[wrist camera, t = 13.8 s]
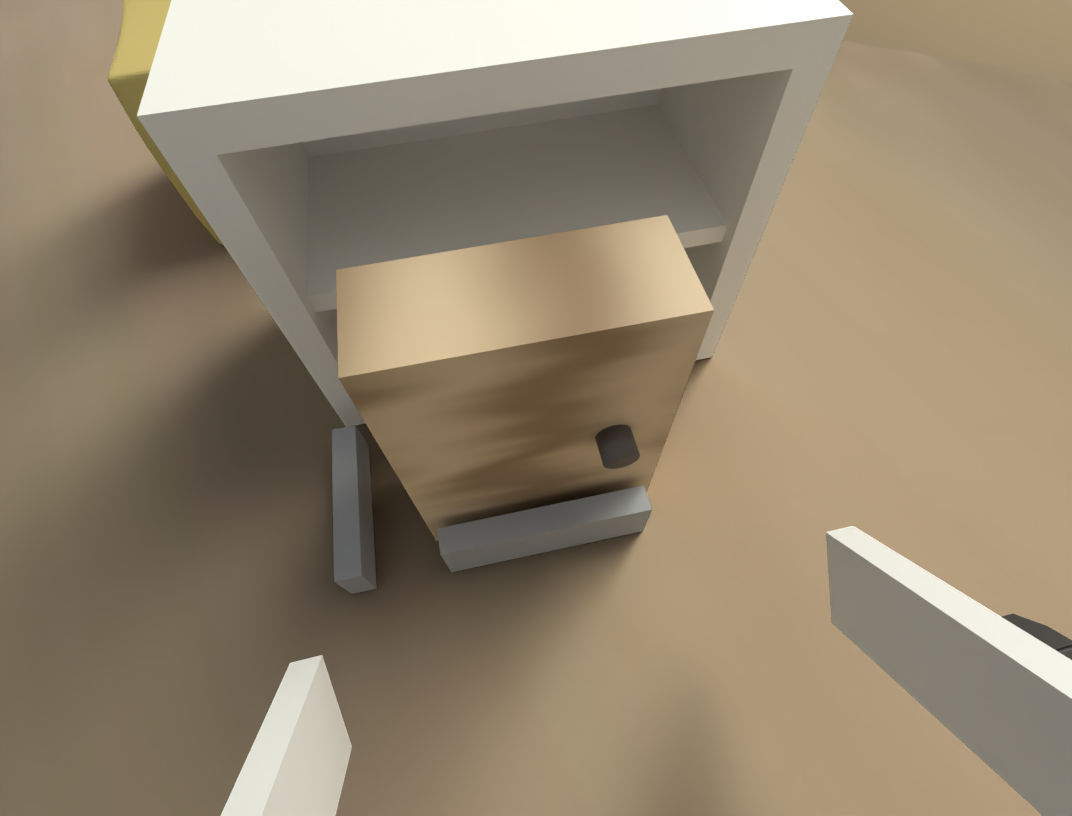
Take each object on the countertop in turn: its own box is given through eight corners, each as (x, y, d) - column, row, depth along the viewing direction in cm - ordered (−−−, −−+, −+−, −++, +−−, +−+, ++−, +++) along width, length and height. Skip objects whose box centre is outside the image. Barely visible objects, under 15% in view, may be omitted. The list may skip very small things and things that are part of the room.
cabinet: (351, 594, 22) (55, 385, 9) (341, 275, 31) (188, -56, 18) (779, 501, 23) (1059, 207, 10) (649, 223, 32) (712, -119, 19)
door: (438, 563, 22) (338, 413, 12) (427, 465, 25) (336, 269, 14) (651, 518, 23) (729, 340, 13) (621, 427, 25) (667, 214, 15)
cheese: (370, 122, 39) (317, -54, 30) (389, 221, 33) (330, 41, 25) (218, 149, 37) (118, -25, 29) (211, 257, 32) (86, 81, 23)
